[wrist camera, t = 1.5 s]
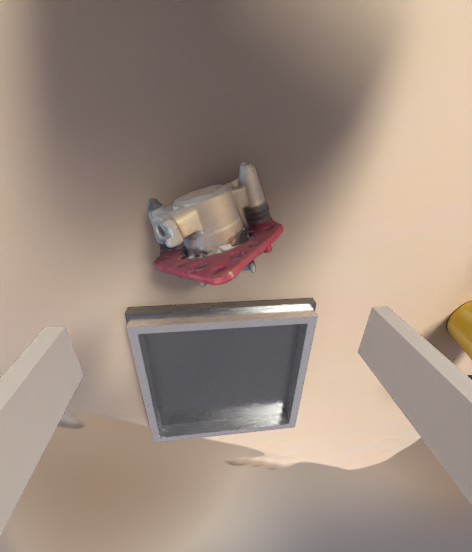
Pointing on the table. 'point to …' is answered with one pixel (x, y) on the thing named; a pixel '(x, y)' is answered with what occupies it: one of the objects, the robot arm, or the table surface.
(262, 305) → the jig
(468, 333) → the plant pot
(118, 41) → the table surface
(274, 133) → the table surface
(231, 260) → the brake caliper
